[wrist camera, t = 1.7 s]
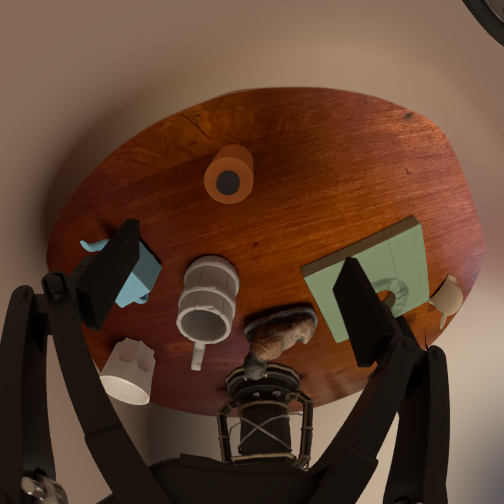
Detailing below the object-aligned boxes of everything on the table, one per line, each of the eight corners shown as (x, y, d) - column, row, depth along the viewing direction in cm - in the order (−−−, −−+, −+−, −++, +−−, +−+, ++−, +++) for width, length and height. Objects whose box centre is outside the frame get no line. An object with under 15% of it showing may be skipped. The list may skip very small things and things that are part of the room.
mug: (245, 259, 37) (243, 323, 27) (228, 319, 43) (223, 382, 33) (189, 247, 36) (168, 308, 26) (181, 310, 42) (165, 371, 32)
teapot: (91, 228, 34) (65, 255, 28) (117, 206, 33) (90, 232, 26) (142, 287, 40) (126, 320, 33) (170, 270, 38) (156, 305, 32)
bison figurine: (309, 293, 40) (322, 345, 32) (319, 323, 44) (331, 372, 35) (236, 316, 42) (233, 367, 34) (252, 342, 46) (253, 391, 37)
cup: (105, 343, 47) (89, 380, 39) (132, 328, 45) (115, 371, 36) (140, 369, 52) (129, 407, 43) (170, 358, 49) (160, 400, 40)
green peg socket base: (412, 215, 33) (421, 223, 31) (423, 291, 41) (429, 300, 39) (301, 267, 38) (303, 277, 36) (334, 333, 45) (337, 343, 43)
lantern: (304, 352, 48) (326, 509, 22) (313, 390, 55) (329, 510, 30) (204, 369, 50) (188, 511, 25) (230, 403, 58) (225, 517, 32)
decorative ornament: (459, 279, 40) (473, 297, 35) (432, 311, 44) (444, 330, 39) (449, 272, 39) (464, 291, 34) (422, 306, 43) (434, 326, 38)
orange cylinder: (241, 137, 29) (237, 150, 21) (259, 169, 31) (262, 194, 23) (208, 155, 30) (192, 175, 22) (226, 186, 32) (218, 216, 24)
